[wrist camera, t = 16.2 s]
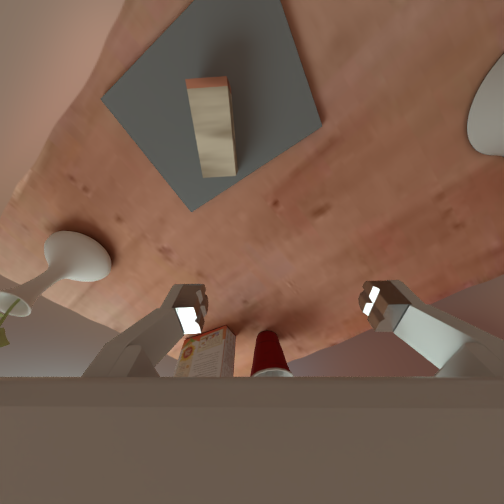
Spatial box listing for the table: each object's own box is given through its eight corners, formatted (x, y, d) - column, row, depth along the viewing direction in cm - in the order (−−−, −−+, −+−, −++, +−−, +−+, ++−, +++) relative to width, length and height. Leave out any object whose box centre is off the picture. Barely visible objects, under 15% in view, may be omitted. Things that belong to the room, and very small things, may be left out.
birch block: (209, 173, 29) (196, 89, 24) (237, 171, 29) (230, 87, 23) (202, 177, 25) (185, 79, 20) (235, 175, 25) (226, 76, 20)
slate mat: (257, -59, 18) (257, -67, 18) (320, 126, 26) (322, 126, 26) (104, 100, 25) (100, 99, 24) (192, 210, 33) (191, 212, 32)
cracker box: (196, 349, 55) (169, 451, 37) (184, 338, 52) (148, 442, 34) (237, 336, 51) (230, 440, 33) (226, 324, 49) (212, 430, 31)
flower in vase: (55, 216, 33) (-308, 351, 12) (121, 243, 36) (-72, 392, 15) (53, 267, 39) (-190, 420, 17) (110, 287, 42) (-38, 439, 20)
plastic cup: (293, 339, 52) (304, 388, 42) (262, 352, 55) (264, 400, 45) (274, 318, 47) (280, 367, 37) (240, 333, 51) (238, 382, 40)
